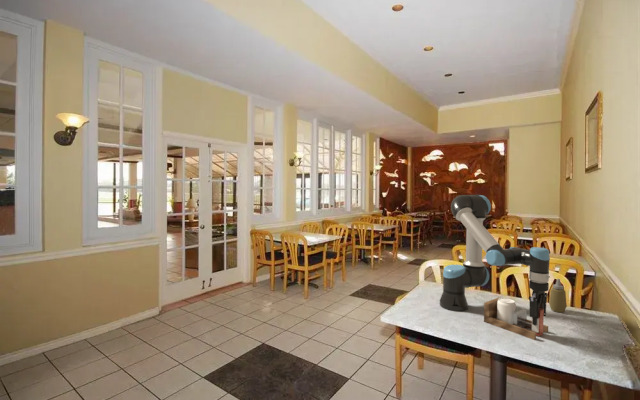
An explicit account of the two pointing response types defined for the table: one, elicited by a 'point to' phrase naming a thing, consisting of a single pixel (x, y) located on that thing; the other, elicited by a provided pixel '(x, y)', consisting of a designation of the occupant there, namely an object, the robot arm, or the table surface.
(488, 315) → the cradle frame
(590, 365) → the table surface
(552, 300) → the squeeze bottle
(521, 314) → the plunger
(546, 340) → the table surface
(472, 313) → the table surface
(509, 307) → the beverage can
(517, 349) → the table surface
